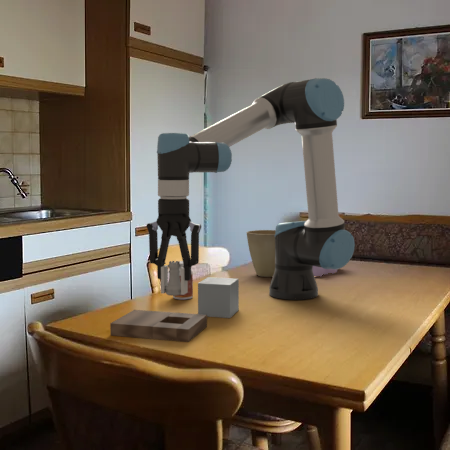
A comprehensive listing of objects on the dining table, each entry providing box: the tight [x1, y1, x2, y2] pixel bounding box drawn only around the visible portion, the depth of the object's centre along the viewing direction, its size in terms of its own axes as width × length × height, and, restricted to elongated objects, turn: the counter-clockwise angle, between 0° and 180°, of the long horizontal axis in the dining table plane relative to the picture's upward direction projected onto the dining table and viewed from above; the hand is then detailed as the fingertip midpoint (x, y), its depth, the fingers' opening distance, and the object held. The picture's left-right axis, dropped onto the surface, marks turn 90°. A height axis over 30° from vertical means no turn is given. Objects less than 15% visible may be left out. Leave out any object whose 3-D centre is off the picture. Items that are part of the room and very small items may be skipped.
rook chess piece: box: [164, 260, 181, 297], centre depth 152 cm, size 4×4×8 cm
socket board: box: [109, 309, 208, 343], centre depth 155 cm, size 20×14×3 cm
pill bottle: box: [172, 260, 194, 301], centre depth 191 cm, size 6×6×11 cm
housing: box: [197, 276, 240, 319], centre depth 172 cm, size 9×9×9 cm
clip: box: [313, 266, 338, 277], centre depth 233 cm, size 20×12×7 cm, turn 150°
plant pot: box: [246, 229, 276, 278], centre depth 227 cm, size 15×15×16 cm
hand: (174, 292), depth 153 cm, fingers closed on rook chess piece, 4 cm apart
